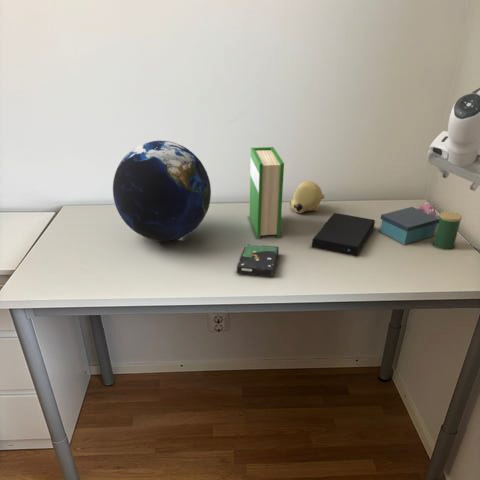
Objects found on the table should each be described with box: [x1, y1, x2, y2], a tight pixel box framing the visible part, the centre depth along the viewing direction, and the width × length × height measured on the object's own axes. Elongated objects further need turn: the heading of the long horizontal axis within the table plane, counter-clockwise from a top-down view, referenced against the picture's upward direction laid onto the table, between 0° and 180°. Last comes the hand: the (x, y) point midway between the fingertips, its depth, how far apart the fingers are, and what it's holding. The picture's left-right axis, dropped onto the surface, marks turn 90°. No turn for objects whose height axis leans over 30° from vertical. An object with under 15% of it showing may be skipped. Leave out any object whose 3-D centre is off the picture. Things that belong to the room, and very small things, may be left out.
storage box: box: [379, 206, 440, 245], centre depth 168 cm, size 14×12×6 cm
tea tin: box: [433, 211, 463, 250], centre depth 160 cm, size 6×6×10 cm
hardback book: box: [249, 146, 285, 239], centre depth 167 cm, size 18×7×24 cm, turn 8°
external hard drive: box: [311, 212, 376, 257], centre depth 166 cm, size 14×23×3 cm, turn 155°
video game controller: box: [415, 202, 437, 217], centre depth 177 cm, size 10×5×7 cm, turn 179°
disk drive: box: [236, 244, 280, 278], centre depth 150 cm, size 10×3×15 cm
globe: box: [112, 140, 212, 242], centre depth 158 cm, size 30×30×30 cm
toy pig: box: [289, 180, 326, 214], centre depth 183 cm, size 10×12×11 cm
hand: (459, 182), depth 153 cm, fingers open, 8 cm apart
